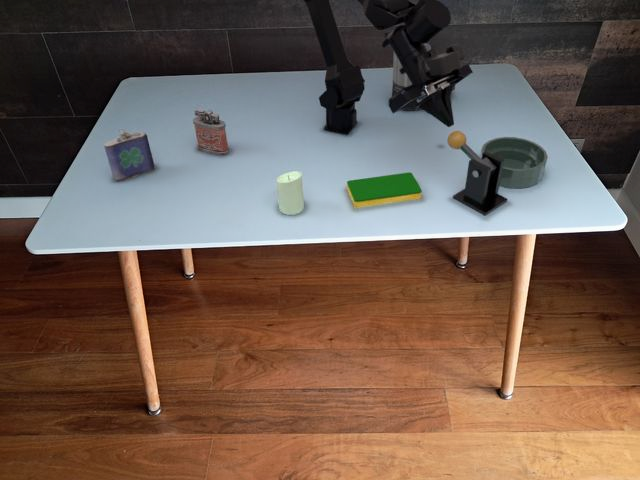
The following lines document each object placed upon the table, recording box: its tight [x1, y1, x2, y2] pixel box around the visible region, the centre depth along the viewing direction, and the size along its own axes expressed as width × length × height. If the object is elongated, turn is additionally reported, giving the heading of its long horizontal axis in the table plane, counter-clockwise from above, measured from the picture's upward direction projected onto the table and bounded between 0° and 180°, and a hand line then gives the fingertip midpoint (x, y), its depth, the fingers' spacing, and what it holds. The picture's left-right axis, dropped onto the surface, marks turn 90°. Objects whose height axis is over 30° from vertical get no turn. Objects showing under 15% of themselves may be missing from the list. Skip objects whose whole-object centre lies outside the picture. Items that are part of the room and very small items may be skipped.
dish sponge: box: [346, 171, 422, 210], centre depth 120 cm, size 7×14×2 cm, turn 101°
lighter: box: [192, 108, 230, 157], centre depth 133 cm, size 8×3×10 cm, turn 65°
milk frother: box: [391, 42, 456, 111], centre depth 148 cm, size 14×16×15 cm
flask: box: [103, 128, 156, 182], centre depth 126 cm, size 9×3×11 cm, turn 121°
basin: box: [479, 136, 548, 189], centre depth 123 cm, size 13×13×5 cm
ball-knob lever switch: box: [452, 151, 509, 217], centre depth 114 cm, size 8×7×10 cm
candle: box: [276, 171, 305, 216], centre depth 115 cm, size 5×5×8 cm
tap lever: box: [447, 130, 497, 175], centre depth 114 cm, size 11×4×4 cm, turn 40°
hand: (451, 125), depth 114 cm, fingers closed
